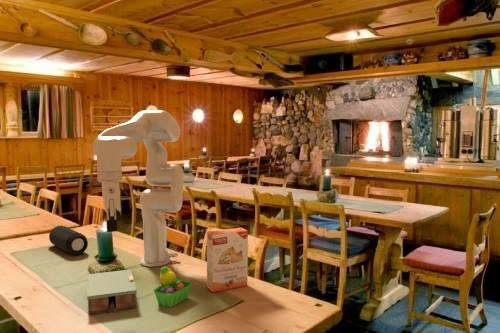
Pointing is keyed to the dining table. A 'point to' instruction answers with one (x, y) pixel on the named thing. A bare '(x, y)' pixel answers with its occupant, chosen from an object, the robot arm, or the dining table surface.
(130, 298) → the brown brick base
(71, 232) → the portable speaker
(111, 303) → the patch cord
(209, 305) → the dining table surface
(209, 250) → the cracker box
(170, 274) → the green plastic basket
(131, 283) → the cover
